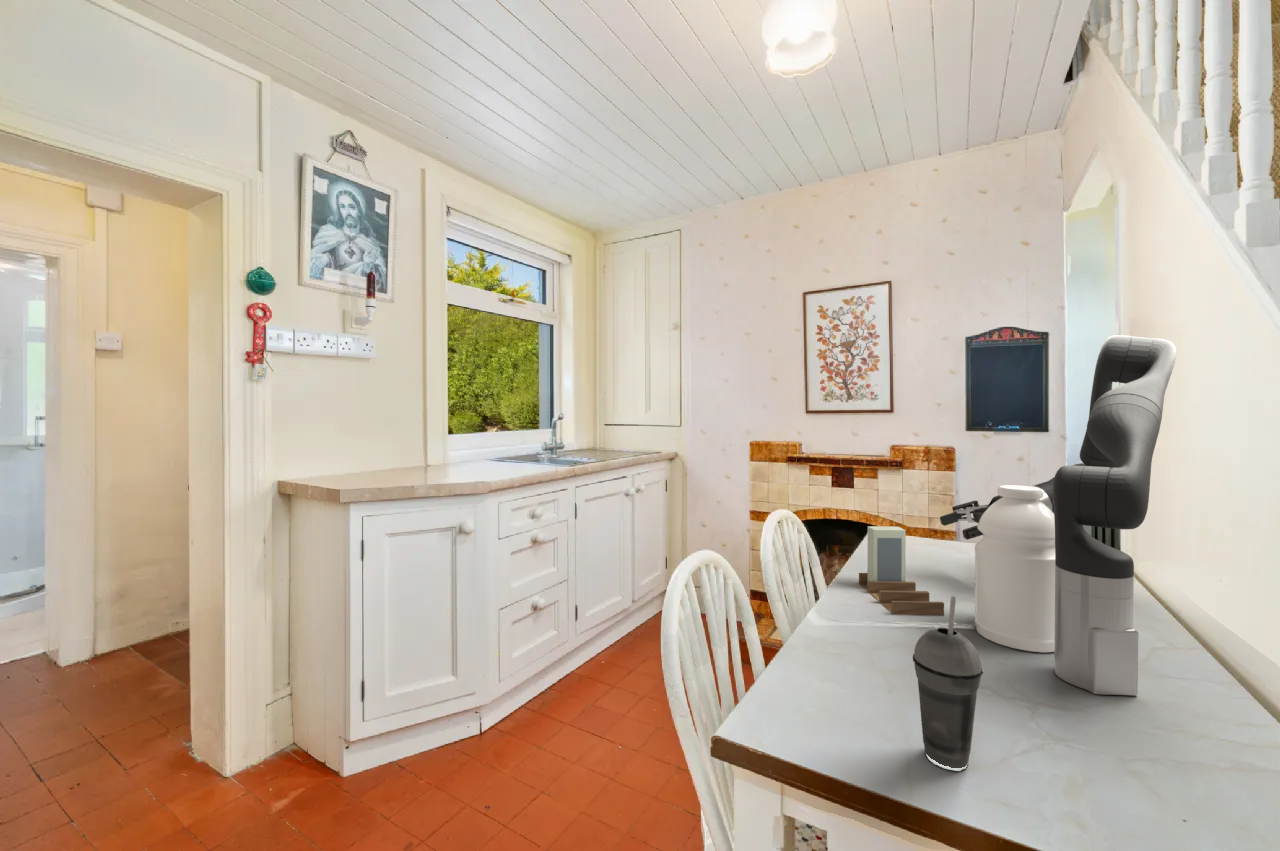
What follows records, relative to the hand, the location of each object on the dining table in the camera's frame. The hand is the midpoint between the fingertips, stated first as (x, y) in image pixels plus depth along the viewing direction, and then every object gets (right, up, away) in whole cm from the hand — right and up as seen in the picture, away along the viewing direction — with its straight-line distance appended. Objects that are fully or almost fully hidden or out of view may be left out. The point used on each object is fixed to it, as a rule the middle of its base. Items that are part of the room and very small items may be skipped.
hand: (952, 528), depth 121 cm
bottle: (-1, -16, -23) cm, 28 cm away
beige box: (-14, -14, +2) cm, 20 cm away
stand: (-15, -16, -5) cm, 22 cm away
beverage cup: (-35, -17, -58) cm, 69 cm away
